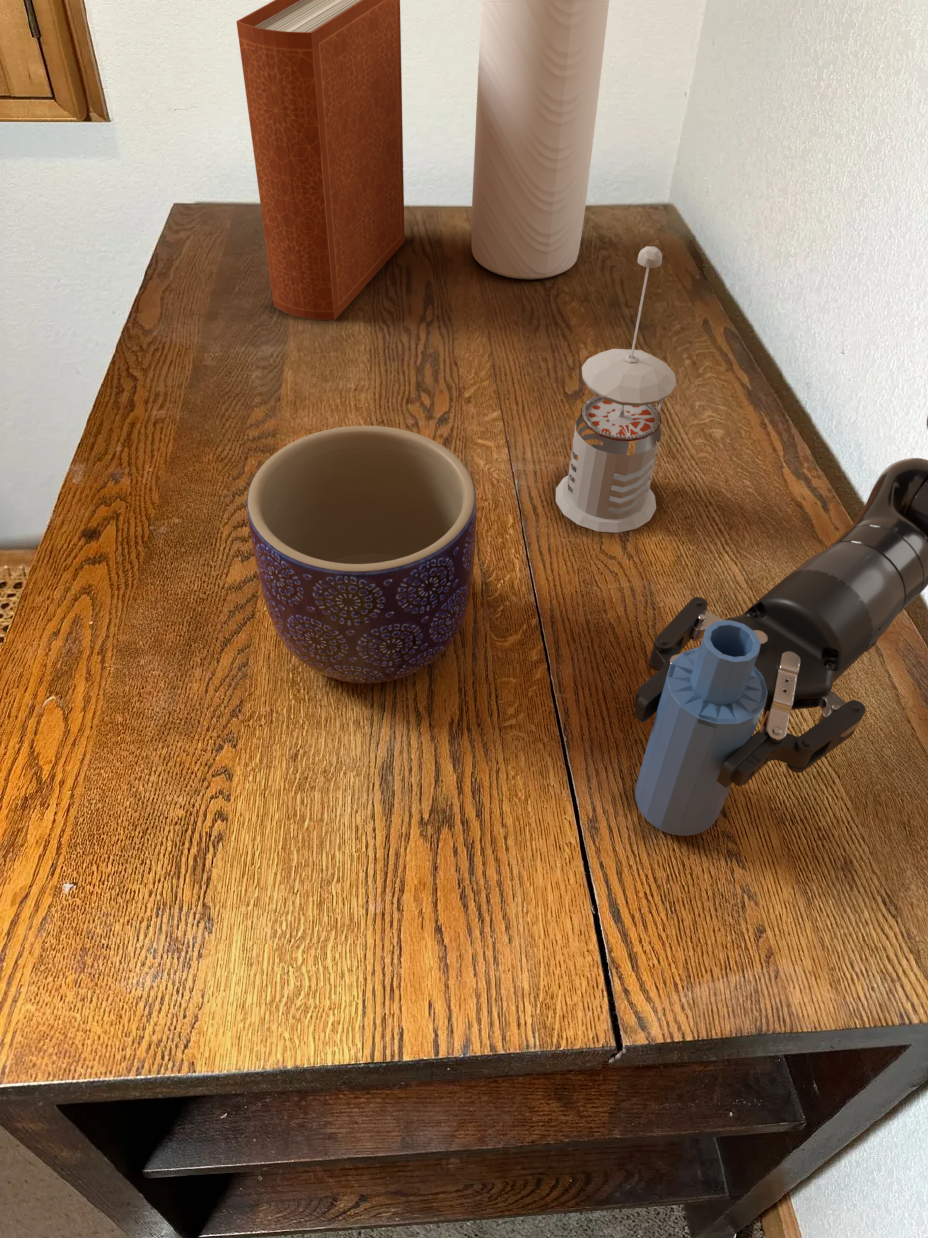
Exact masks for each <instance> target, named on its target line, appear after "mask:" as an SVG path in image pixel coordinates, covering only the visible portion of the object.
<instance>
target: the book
mask: <svg viewBox="0 0 928 1238" xmlns="http://www.w3.org/2000/svg"><path fill="white" fill-rule="evenodd" d="M401 23H402V22H401V0H272V1H270V2H269V3H267V4H265V5H262V7H259V8H257V9H256V10H254V11H252V12H250V13H249V14H247V15H245V16H243V17H241V18H239V19H237V20H236V28H237V38H238V43H239V51H240V53H239V54H240V59H241V60H240V61H241V67H242V73H243V83H244V89H245V98H246V104H247V105H246V106H247V113H248V121H249V128H250V135H251V142H252V143H251V144H252V150H253V151H252V152H253V157H254V158H253V159H254V166H255V174H256V180H257V189H258V195H259V196H258V197H259V204H260V210H261V218H262V219H261V220H262V226H263V234H264V242H265V249H266V256H267V257H266V258H267V264H268V272H269V279H270V287H271V294H272V301H273V303H272V304H273V307H274V308H275V309H277V310H279V311H281V312H284V313H285V314H288V315H291V316H294V317H297V318H302V319H308V320H309V319H310V320H320V321H335V320H337V318H339V316H340V315H341V314H342V313H343V312H344V311H345V310H346V308H347V307H348V306H349V305H350V304H351V303H352V302H353V300H354V299H355V298H356V297H357V296H358V295H359V294H360V292H362V291H363V289H364V288H365V287H366V286H367V284H369V283H370V282H371V280H372V279H373V278H374V277H375V276H376V274H377V273H379V271H380V270H381V269H382V268H383V267H384V266H385V264H387V262H389V260H390V259H391V258H392V257H393V256H394V255H395V253H396V252H397V251H398V250H399V249H400V248H401V247H402V245H403V244H404V243H405V242H406V241H405V238H406V236H405V235H406V234H405V233H406V232H405V190H404V189H405V185H404V183H405V182H404V141H403V140H404V137H403V135H404V134H403V133H404V131H403V129H404V128H403V82H402V79H403V78H402V74H403V73H402V28H401V27H402V24H401Z"/></svg>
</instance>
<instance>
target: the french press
mask: <svg viewBox="0 0 928 1238" xmlns="http://www.w3.org/2000/svg"><path fill="white" fill-rule="evenodd" d="M662 261H663V254H662V251H661V250H660V249H659V248H658V247H657V246H649V245H646V246H644V247H643V248H642V249H640V251H639V252H638V256H637V264H639V265H640V266H642V267H644V268H646V269H645V274H644V281H643V286H642V290H641V295H640V296H641V297H640V302H639V307H638V313H637V319H636V324H635V330H634V334H633V340H632V345H631V346H632V347H631V349H625V348H612V349H607V350H604V351H602V352H598V353H597V354H595V355H593V356H591V357H589V358H587V359H586V360H585V362H584V364H583V365H582V366H581V377H582V380H583V382H584V384H585V385H586V386H587V388H588V389H589V390H590V392H591V393H593V395H594V396H592V397H590V398H589V399H587V400H585V402H584V403H583V405H581V408H580V414H579V416H578V417H577V419H576V421H575V425H574V433H573V440H572V447H571V452H570V455H571V456H570V460H569V466H568V474H567V475H566V476H564V477H562V479H561V481H560V482H559V484H558V485H557V486H556V488H555V503H556V505H557V506H558V508H559V510H560V511H561V513H562V515H563V516H565V517H566V518H568V519H569V520H570V521H572V522H573V523H575V525H578V526H581V527H584V528H586V529H589V530H593V531H595V532H601V533H615V534H617V533H624V532H628V531H632V530H637V529H639V528H640V527H642V526H644V525H645V524H647V523H648V522H650V521H651V519H652V517H653V515H654V514H655V511H656V510H657V503H656V495H655V494H654V492H653V491H652V490H651V483H652V480H653V473H654V471H655V466H656V461H657V457H658V452H659V449H660V445H661V440H662V439H661V438H662V429H661V424H662V416H661V412H660V411H661V408H662V406H663V403H664V399H666V398H668V397H669V396H670V395H671V393H673V390H674V389H675V388H676V386H677V382H676V374H675V372H674V371H673V370H672V369H671V368H670V366H669V365H668V364H667V363H666V362H665V361H663V360H661V359H659V358H658V357H656V356H654V355H652V354H650V353H648V352H646V351H643V350H641V349H636V344H637V343H636V342H637V337H638V331H639V326H640V322H641V321H640V320H641V315H642V311H643V305H644V300H645V299H644V298H645V294H646V289H647V285H648V284H647V283H648V278H649V272H650V268H651V269H652V268H653V269H655V268H658V267H660V266H661V265H662ZM657 403H659V405H658V407H656V406H655V404H657ZM582 423H584V425H583V426H582V427H580V428H579V426H580V425H581V424H582ZM586 430H590V431H592V432H593V433H586V434H584V435H583V436H581V434H583V433H584V432H585V431H586ZM590 440H597V441H601V442H602V445H601V444H596V443H592V444H589V443H587V442H586V441H590ZM635 441H636V444H635V450H634V454H628V450H629V445H630V442H635ZM576 457H577V459H576Z"/></svg>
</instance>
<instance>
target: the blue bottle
mask: <svg viewBox="0 0 928 1238" xmlns="http://www.w3.org/2000/svg"><path fill="white" fill-rule="evenodd" d="M724 620H725V621H716V622H714V623H713V624H711V625H710V626H709V627H707V628H706V630H705V633H704V636H703V638H701V643H700V646H698V647H694V648H691V649H689V650H686V651H683V652H680V653H679V654H680V655H679V656H678V657H677V658H676V659H675V660H674V661H673V662H672V663H671V664H670V667H669V670H668V674H667V677H666V681H665V684H664V688H663V691H662V695H661V698H660V702H659V705H658V709H657V712H656V713H655V716H654V720H653V724H652V728H651V731H650V734H649V738H648V741H647V745H646V749H645V752H644V755H643V759H642V761H641V765H640V768H639V769H640V770H639V774H638V776H637V779H636V784H635V787H634V799H635V803H636V805H637V808H638V811H639V812H640V813H641V815H642V816H643V818H644V819H645V820H646V821H647V822H648V823H650V824H651V825H652V826H653V827H655V828H656V829H657V830H659V831H661V832H664V833H667V834H670V835H673V836H680V837H681V836H683V837H687V836H688V837H689V836H696V835H698V834H701V833H703V832H706V831H707V830H709V828H711V827H712V826H713V825H714V823H715V822H716V821H717V819H718V818H719V816H720V814H721V811H722V808H723V807H724V805H725V802H726V799H727V797H728V795H729V793H730V790H731V787H732V786H733V783H732V784H731V785H730V786H729V787H727V788H725V787H724V786H722V785H721V784H720V783H719V782H717V778H718V776H719V773H720V771H721V768H722V766H723V765H724V763H725V762H726V761H727V760H728V759H729V758H730V757H731V756H732V755H733V754H734V753H735V752H736V751H737V750H738V749H739V748H740V747H741V746H743V745H744V744H745V743H746V742H747V741H748V740H749V739H750V738H751V737H752V736H753V735H754V734H755V731H756V728H757V726H758V723H759V721H760V720H761V716H762V715H763V711H764V710H763V709H764V707H765V703H766V698H767V693H768V690H767V687H766V684H765V681H764V678H763V676H762V674H761V673H760V672H759V671H758V670H757V669H756V667H755V666H754V665H755V662H756V659H757V657H758V654H759V650H760V646H761V643H760V641H759V639H758V637H757V635H756V633H755V632H754V631H753V630H751V629H750V628H749V627H747V626H746V625H745V624H742V623H739V622H735V621H731V620H726V619H724Z"/></svg>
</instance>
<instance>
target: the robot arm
mask: <svg viewBox="0 0 928 1238" xmlns="http://www.w3.org/2000/svg"><path fill="white" fill-rule="evenodd" d="M926 429H927V430H928V415H927V417H926ZM927 587H928V459H925V458H920V457H908V458H904V459H900V460H898V461H895V462H893V463H891V464H889V465H888V466H887V467H886V468H885V469H884V470H883V471H882V472H881V473H880V475H879V476H878V478H877V480H876V481H875V482H874V485H873V487H872V489H871V492H870V493H869V496H868V498H867V500H866V503H865V505H864V507H863V508H862V509H861V512H860V513H859V515H858V517H857V518H856V519H855V521H853V523H852V524H851V526H850V527H849V528H848V529H847V530H846V531H845V532H843V533H842V534H841V535H840V536H839V537H838V538H836V539H835V540H834V541H833V542H832V543H830V544H829V545H828V546H826V547H825V548H824V549H822V550H821V551H819V552H817V553H816V554H814V555H812V556H811V557H809V558H807V559H806V560H805V561H804V562H803V563H801V564H799V565H798V567H797V568H795V569H794V570H793V571H791V572H790V573H789V574H788V575H787V576H785V577H784V578H783V579H782V580H781V581H780V582H779V583H777V584H776V585H775V586H774V587H773V588H771V589H770V590H769V591H767V592H766V593H765V594H764V595H763V596H761V597H760V598H759V599H758V600H757V601H755V603H753V604H752V605H751V606H750V607H749V608H747V610H746V611H745V612H744V613H742V614H740V615H737V616H733V617H728V618H726V619H724V618H721V617H720V616H718V615H716V614H714V613H713V612H710V611H709V610H707V608H708V605H709V603H708V600H706V599H705V598H704V597H700V596H695V597H692V598H691V599H690V600H689V601H688V602H687V604H686V605H685V606H684V607H683V608H682V609H681V610H680V611H679V612H678V613H677V614H676V615H675V616H674V617H673V618H672V620H670V622H669V623H668V624H667V625H666V626H665V627H664V628H663V629H662V631H661V632H659V634H658V635H657V636H656V637H655V639H654V642H653V645H652V649H651V653H650V656H649V657H650V658H649V662H648V666H649V668H650V669H652V670H653V671H656V672H655V674H654V675H652V676H651V677H650V678H649V679H647V680H646V681H645V682H643V683H642V684H641V685H640V686H639V687H638V689H637V691H636V694H635V698H634V701H633V705H632V706H633V708H634V711H633V714H632V716H633V718H634V719H636V720H637V721H639V722H640V723H641V724H644V723H645V722H646V721H647V720H649V719H650V718H651V717H652V716H653V715H655V714H656V713H657V709H658V705H659V702H660V698H661V695H662V691H663V688H664V684H665V681H666V677H667V674H668V670H669V667H670V664H671V663H672V662H673V661H674V660H675V659H676V658H677V657H678V656H679V655H680V654H681V653H682V650H684V648H685V647H686V646H687V645H688V644H689V643H690V642H691V641H693V642H695V643H696V642H698V641H699V640H702V639H703V636H704V633H705V630H706V628H707V627H709V626H710V625H711V624H713V623H714V622H716V621H725V620H731V621H735V622H739V623H742V624H745V625H746V626H747V627H749V628H750V629H751V630H753V631H754V632H755V633H756V635H757V637H758V639H759V641H760V643H761V646H760V650H759V654H758V657H757V659H756V662H755V665H754V666H755V667H756V669H757V670H758V671H759V672H760V673H761V674H762V676H763V678H764V681H765V684H766V687H767V690H768V693H767V698H766V703H765V707H764V709H763V712H762V717H761V723H760V727H759V730H757V731H756V732H754V733H753V736H752V737H751V738H750V739H749V740H748V741H747V742H746V743H745V744H744V745H743V746H741V747H740V748H739V749H738V750H737V751H736V752H735V753H734V754H733V755H732V756H731V757H730V758H729V759H728V760H727V761H726V762H725V763H724V765H723V766H722V768H721V771H720V773H719V776H718V778H717V782H719V783H720V784H721V785H722V786H724V787H725V788H727V787H729V786H730V785H731V784H732V785H733V784H734V785H735V786H736V787H738V788H739V787H742V786H744V785H746V784H748V783H749V781H750V780H752V779H753V777H754V776H755V775H756V774H758V773H759V771H761V770H762V769H763V767H765V766H766V764H768V763H769V762H772V761H778V762H782V763H784V764H786V767H787V768H788V769H789V771H791V772H793V773H796V774H802V773H803V772H805V771H806V770H807V769H809V768H810V767H812V766H813V765H815V764H816V763H817V762H818V761H820V760H821V759H823V758H824V757H825V756H827V755H828V754H830V753H831V752H832V751H833V750H834V749H836V748H838V747H839V746H840V745H841V744H843V743H844V742H846V741H847V740H848V739H850V738H851V737H852V736H853V735H854V733H855V732H856V730H857V728H858V726H859V724H860V723H861V721H862V719H863V717H864V715H865V713H867V712H866V711H867V710H866V706H865V705H864V703H862V702H861V701H859V700H854V699H853V700H851V699H850V700H849V701H847V702H846V701H845V700H843V698H841V697H840V696H838V694H836V693H835V692H834V691H833V690H832V689H833V684H834V683H835V682H836V681H837V680H838V679H840V677H841V676H842V675H843V674H844V673H846V671H848V669H849V668H851V666H852V665H854V664H855V663H856V662H857V661H858V660H859V659H860V658H861V657H862V656H863V655H864V654H865V653H868V652H869V651H870V650H871V649H872V648H873V647H874V646H875V645H876V644H877V643H878V641H879V639H880V638H881V637H882V636H884V634H885V633H886V632H887V631H888V629H889V628H890V626H891V625H892V623H893V622H894V621H895V619H896V618H897V616H899V614H901V613H902V611H904V610H905V608H906V607H908V606H909V605H910V604H911V603H912V602H913V601H914V600H915V599H916V598H917V597H918V596H920V594H921V593H923V591H924V590H925V589H926V588H927ZM814 708H820V710H821V713H820V715H819V717H818V722H817V723H816V724H815V725H813V726H812V727H811V728H809V729H808V730H806V731H805V732H804V733H802V734H801V735H799V736H797V735H794V734H791V733H789V732H788V728H789V722H790V721H789V720H790V714H791V711H793V710H794V711H795V710H805V709H814Z"/></svg>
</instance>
